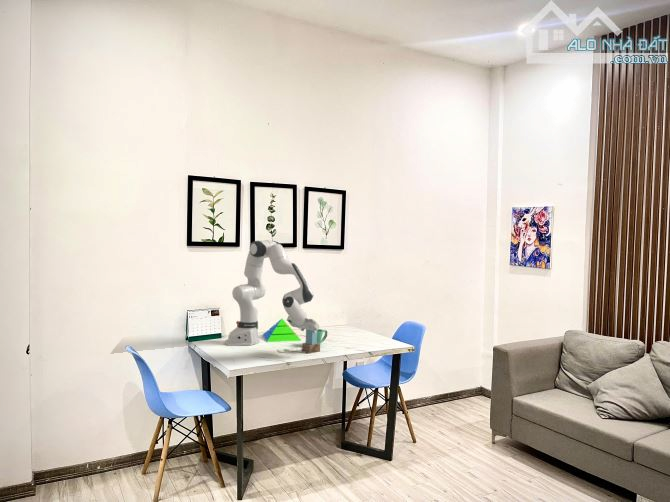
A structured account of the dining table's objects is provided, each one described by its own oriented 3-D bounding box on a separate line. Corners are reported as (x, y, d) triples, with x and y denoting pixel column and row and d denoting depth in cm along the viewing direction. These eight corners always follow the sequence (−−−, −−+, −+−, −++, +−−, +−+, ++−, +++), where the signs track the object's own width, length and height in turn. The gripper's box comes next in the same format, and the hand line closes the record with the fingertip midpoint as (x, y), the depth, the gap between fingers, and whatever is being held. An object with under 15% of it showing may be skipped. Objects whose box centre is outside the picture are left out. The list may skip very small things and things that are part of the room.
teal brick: (312, 345, 292) (312, 330, 292) (305, 343, 295) (306, 329, 295) (316, 343, 296) (317, 329, 296) (310, 342, 299) (310, 328, 299)
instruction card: (280, 352, 291) (280, 352, 291) (276, 350, 297) (276, 349, 297) (295, 351, 295) (295, 350, 295) (291, 348, 301) (291, 348, 301)
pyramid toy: (261, 335, 341) (262, 315, 341) (296, 334, 348) (296, 314, 347) (265, 343, 317) (266, 322, 316) (302, 341, 323) (303, 321, 323)
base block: (309, 353, 290) (309, 345, 290) (302, 351, 296) (302, 343, 296) (320, 351, 295) (320, 344, 295) (312, 349, 302) (312, 341, 301)
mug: (314, 348, 304) (314, 332, 304) (304, 345, 311) (305, 330, 311) (331, 344, 314) (331, 329, 313) (321, 342, 321) (322, 327, 321)
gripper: (315, 315, 281) (325, 329, 290) (289, 311, 293) (298, 324, 301) (311, 324, 278) (320, 337, 286) (284, 319, 289) (294, 333, 298)
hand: (309, 331), depth 294 cm, fingers open, 8 cm apart
